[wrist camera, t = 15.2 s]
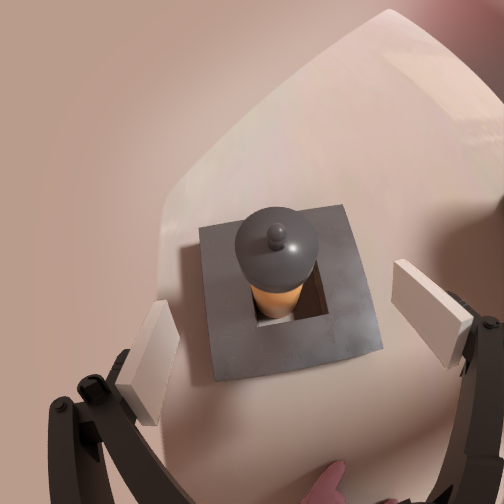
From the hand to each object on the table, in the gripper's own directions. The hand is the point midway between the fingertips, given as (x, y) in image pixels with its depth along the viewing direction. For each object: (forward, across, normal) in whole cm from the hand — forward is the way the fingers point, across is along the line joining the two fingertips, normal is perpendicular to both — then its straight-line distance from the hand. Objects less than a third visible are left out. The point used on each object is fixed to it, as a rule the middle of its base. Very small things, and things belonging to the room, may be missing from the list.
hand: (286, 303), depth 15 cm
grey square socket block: (+10, +1, -5) cm, 11 cm away
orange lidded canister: (+10, 0, -5) cm, 11 cm away
